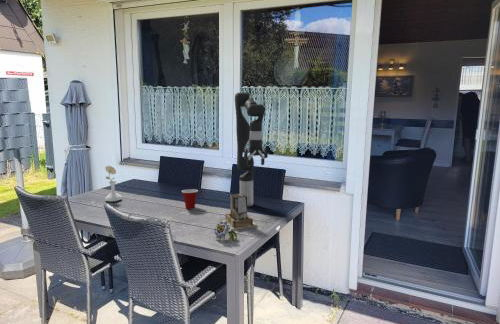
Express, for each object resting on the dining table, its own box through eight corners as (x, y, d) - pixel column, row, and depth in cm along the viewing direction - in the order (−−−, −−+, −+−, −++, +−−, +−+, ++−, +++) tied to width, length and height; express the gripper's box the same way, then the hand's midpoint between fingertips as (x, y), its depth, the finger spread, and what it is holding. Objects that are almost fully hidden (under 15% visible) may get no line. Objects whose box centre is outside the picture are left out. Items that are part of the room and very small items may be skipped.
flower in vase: (125, 200, 263) (123, 165, 258) (111, 203, 254) (108, 168, 249) (114, 197, 270) (112, 163, 266) (100, 200, 261) (97, 166, 257)
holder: (221, 221, 218) (221, 214, 217) (246, 218, 223) (246, 211, 223) (230, 230, 203) (230, 222, 202) (257, 226, 209) (257, 219, 208)
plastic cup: (198, 204, 251) (197, 187, 248) (198, 209, 240) (198, 191, 238) (182, 205, 249) (181, 188, 247) (181, 210, 238) (181, 192, 236)
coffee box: (247, 223, 211) (247, 196, 208) (238, 225, 208) (238, 198, 205) (239, 219, 219) (239, 192, 216) (230, 221, 215) (229, 194, 212)
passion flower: (219, 250, 190) (206, 231, 191) (232, 240, 198) (219, 221, 199) (232, 243, 183) (219, 223, 183) (244, 233, 191) (232, 214, 192)
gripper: (246, 139, 211) (247, 167, 214) (269, 138, 216) (269, 165, 219) (242, 138, 218) (242, 165, 221) (264, 137, 223) (264, 163, 226)
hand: (255, 165), depth 220 cm, fingers open, 8 cm apart
